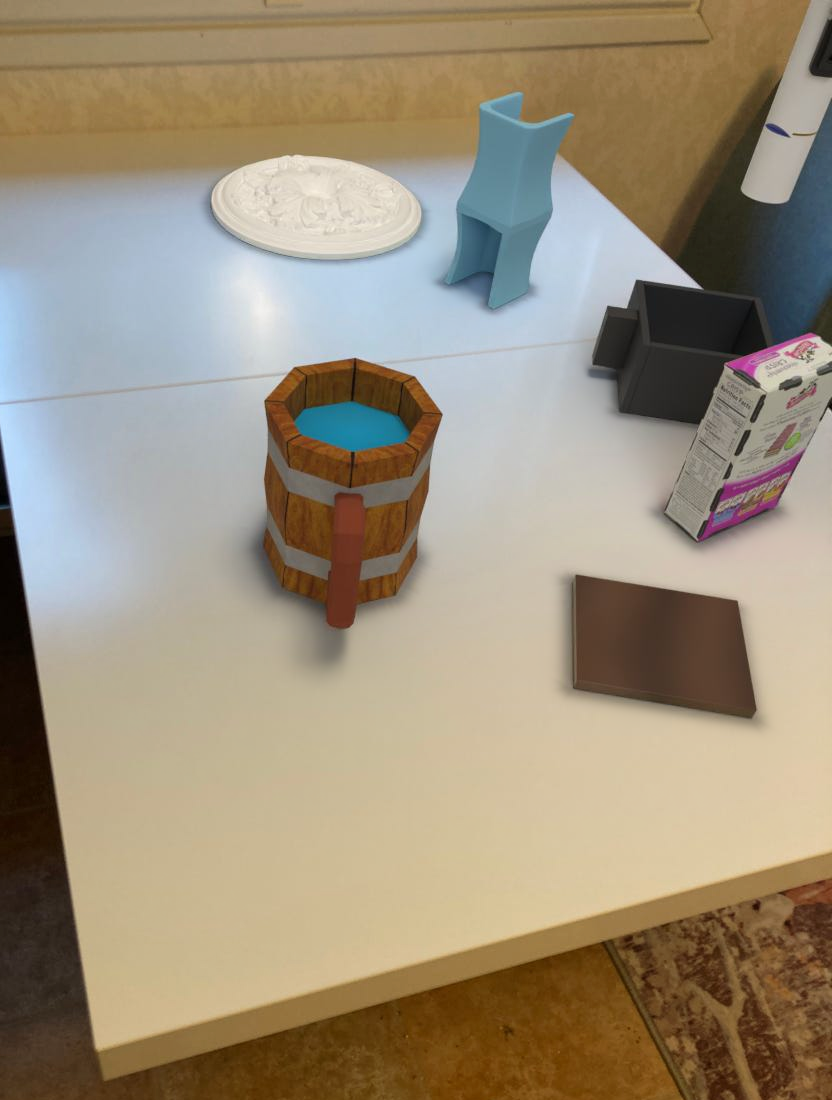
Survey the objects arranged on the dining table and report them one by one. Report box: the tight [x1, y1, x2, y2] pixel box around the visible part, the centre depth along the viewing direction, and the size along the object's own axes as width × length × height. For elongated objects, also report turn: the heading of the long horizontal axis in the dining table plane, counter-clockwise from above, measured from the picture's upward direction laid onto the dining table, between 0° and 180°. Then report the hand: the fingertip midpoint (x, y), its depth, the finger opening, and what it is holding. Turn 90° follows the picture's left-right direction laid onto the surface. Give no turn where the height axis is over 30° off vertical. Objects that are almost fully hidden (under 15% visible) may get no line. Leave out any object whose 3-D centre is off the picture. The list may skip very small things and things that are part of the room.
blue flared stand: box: [444, 91, 576, 310], centre depth 107 cm, size 8×8×20 cm
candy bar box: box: [663, 332, 832, 542], centre depth 83 cm, size 11×5×16 cm, turn 122°
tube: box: [740, 0, 832, 205], centre depth 77 cm, size 4×4×15 cm
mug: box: [262, 357, 444, 630], centre depth 73 cm, size 20×14×15 cm
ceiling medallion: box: [210, 154, 422, 261], centre depth 123 cm, size 28×28×3 cm
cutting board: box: [572, 574, 758, 718], centre depth 76 cm, size 14×12×1 cm
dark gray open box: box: [591, 278, 775, 425], centre depth 100 cm, size 17×14×8 cm
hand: (816, 64), depth 75 cm, fingers closed on tube, 4 cm apart
